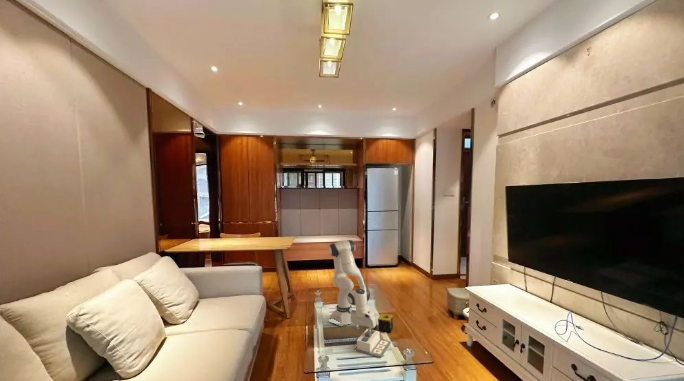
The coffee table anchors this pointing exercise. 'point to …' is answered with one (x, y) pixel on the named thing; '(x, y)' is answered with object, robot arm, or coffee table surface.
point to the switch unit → (372, 345)
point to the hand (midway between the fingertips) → (363, 330)
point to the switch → (368, 334)
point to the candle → (385, 323)
